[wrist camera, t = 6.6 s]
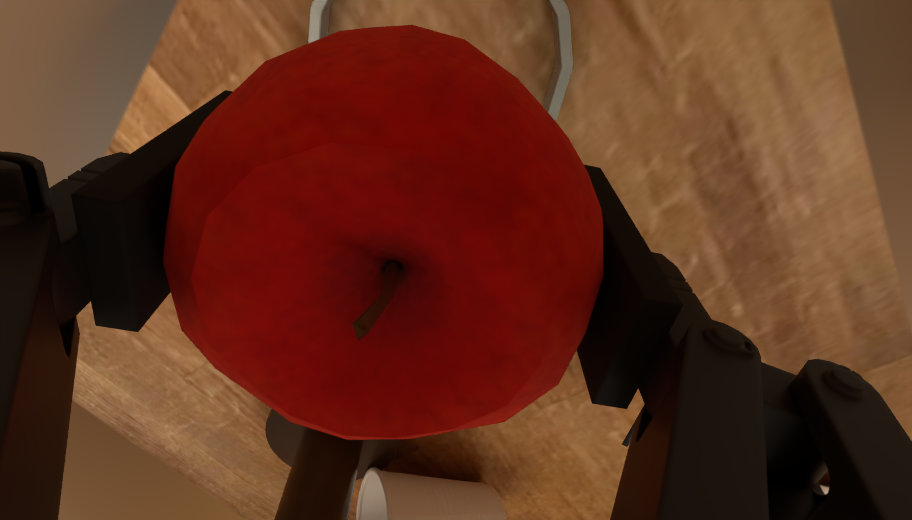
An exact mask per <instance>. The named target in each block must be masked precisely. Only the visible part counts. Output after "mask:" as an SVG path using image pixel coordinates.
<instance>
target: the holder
mask: <svg viewBox="0 0 912 520" xmlns="http://www.w3.org/2000/svg"><path fill="white" fill-rule="evenodd" d="M266 437H267V441H268V443H269V445H270V447H271V448H272V450H273V451H274V453H275V454H276V455H277V456H278V457H279V458H280V459H281V460H282V461H283V462H285V463H286V464H287V465H289V466H290V467H291V470H290V473H289V476H288V479H287V482H286V485H285V488H284V492H283V495H282V498H281V501H280V504H279V507H278V510H277V513H276V516H275V519H274V520H348V516H349V511H350V506H351V501H352V496H353V490H354V485H355V480H356V479H361V478H364V475H365V474H366V472H367V470H369V469H370V468H372V467H376V468H378V469H379V470H380V471H381V470H383V469H384V468H386V467H387V466H388V465H389V464H390V463H391V462H392V460H393V459H394V458H395V456H396V454H397V451H398V448H399V441H400V439H368V440H347V439H343V438H340V437H337V436H334V435H331V434H327V433H324V432H321V431H318V430H315V429H311V428H308V427H305V426H302V425H299V424H295V423H292V422H290V421H289V420H287V419H286V418H285V417H283V416H282V415H280V414H279V413H278V412H276V411H275V410H273V409H271V411H270V414H269V416H268V419H267V422H266Z"/></svg>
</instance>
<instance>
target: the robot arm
mask: <svg viewBox="0 0 912 520" xmlns="http://www.w3.org/2000/svg"><path fill="white" fill-rule="evenodd" d="M231 93H233V92H232V91H227V90H225V91H224V92H222V93H221V94H219V95H218V96H216V97H215V98H213V99H212V100H210V101H209V102H207V103H206V104H204V105H203V106H201V107H200V108H198V109H197V110H195V111H194V112H192V113H191V114H189V115H188V116H186V117H185V118H183V119H182V120H180V121H179V122H177V123H176V124H175V125H173V126H172V127H170V128H169V129H167V130H166V131H164V132H163V133H161V134H160V135H158V136H157V137H155V138H154V139H152V140H151V141H149V142H148V143H146V144H145V145H143V146H142V147H140V148H139V149H137V150H136V151H134V152H133V153H131V154H128V153H123V152H119V153H115V154H112V155H108V156H105V157H101V158H98V159H96V160H94V161H92V162H91V163H90V164H88V165H86V166H85V167H83V168H82V169H81V171H76V172H75V173H73V174H72V175H70V176H68V179H64V180H62V181H60V182H59V183H57V184H56V185H54V186H52V187H51V188H49V186H48V182H47V177H46V173H45V168H44V165H43V162H41V161H40V160H38V159H36V158H35V157H32V156H28V155H24V154H20V153H12V152H0V520H58V515H59V506H60V498H61V489H62V481H63V472H64V464H65V454H66V447H67V438H68V430H69V420H70V413H71V403H72V395H73V387H74V378H75V370H76V361H77V353H78V344H79V336H80V332H79V328H78V323H77V318H76V315H77V314H78V313H79V312H80V311H81V310H82V309H83V308H84V307H85V306H86V305H87V304H88V303H89V302H90V301H91V304H92V309H93V314H94V319H95V325H96V326H102V327H109V328H115V329H121V330H128V331H134V332H139V330H140V329H141V328H142V327H143V325H144V324H145V323H146V322H147V320H148V319H149V318H150V317H151V315H152V314H153V313H154V312H155V310H156V309H157V308H158V307H159V305H160V304H161V303H162V302H163V301H164V299H165V298H166V297H167V296H168V294H169V293H170V292H171V290H170V287H169V283H168V279H167V276H166V272H165V269H164V265H163V256H164V242H165V230H166V224H167V217H168V211H169V205H170V198H171V192H172V186H173V179H174V173H175V167H176V165H177V163H178V161H179V160H180V158H181V157H182V155H183V153H184V152H185V150H186V149H187V147H188V145H189V144H190V142H191V141H192V139H193V138H194V136H195V134H196V133H197V131H198V130H199V128H200V126H201V125H202V123H203V122H204V120H205V119H206V118H207V117H208V116H209V115H210V114H211V113H212V112H213V111H214V110H215V109H216V108H217V107H218V106H219V105H220V104H221V103H222V102H223V101H224V100H225V99H226V98H227V97H228V96H229V95H230V94H231ZM583 165H584V164H583ZM584 166H585V168H586V170H587V172H588V174H589V177H590V180H591V182H592V185H593V188H594V191H595V193H596V196H597V199H598V201H599V204H600V207H601V210H602V218H603V279H602V282H601V285H600V288H599V292H598V295H597V298H596V301H595V304H594V307H593V311H592V314H591V317H590V320H589V323H588V326H587V330H586V333H585V335H584V336H583V338H582V340H581V342H580V344H579V346H578V348H577V352H578V356H579V359H580V363H581V366H582V370H583V373H584V377H585V380H586V384H587V387H588V391H589V394H590V398H591V401H592V404H599V405H605V406H611V407H618V408H624V409H627V408H628V406H629V404H630V402H631V400H632V399H633V397H634V395H635V393H636V391H637V389H638V388H639V391H640V393H641V396H642V398H643V401H644V403H645V405H644V406H643V408H642V410H641V412H640V413H639V415H638V417H637V419H636V420H635V422H634V424H633V426H632V427H631V429H630V431H629V433H628V434H627V436H626V438H625V440H624V441H623V443H622V444H623V445H624V446H626V447H627V446H628V445H629V444H630V445H629V449H628V453H627V456H626V460H625V464H624V468H623V472H622V476H621V480H620V484H619V487H618V491H617V495H616V499H615V503H614V507H613V511H612V515H611V518H610V520H912V441H911V440H910V438H909V437H908V435H907V434H906V432H905V431H904V429H903V428H902V426H901V425H900V423H899V422H898V420H897V419H896V417H895V416H894V414H893V413H892V412H891V410H890V409H889V407H888V406H887V404H886V403H885V401H884V400H883V398H882V397H881V395H880V394H879V393H878V392H877V391H876V390H875V389H874V388H873V386H872V385H870V384H869V383H868V382H866V381H865V380H864V379H863V378H862V377H861V376H860V375H859V374H857V373H856V372H854V371H850V370H851V369H849V368H847V367H845V366H842V365H838V364H835V363H833V362H830V361H825V360H820V359H813V360H808V361H807V363H806V364H805V365H804V367H803V368H802V369H801V371H800V372H799V373H798V375H794V374H791V373H789V372H786V371H783V370H781V369H778V368H775V367H773V366H770V365H767V364H765V363H762V362H761V356H760V353H759V351H758V348H757V347H756V346H755V345H754V344H753V342H752V341H751V340H750V339H749V338H747V337H746V336H745V335H743V334H742V333H741V332H739V331H738V330H736V329H734V328H732V327H730V326H728V325H726V324H724V323H721V322H718V321H714V320H712V319H711V318H710V316H709V315H708V313H707V312H706V310H705V309H704V307H703V306H702V304H701V302H700V301H699V299H698V298H697V296H696V295H695V293H692V291H693V290H692V289H691V287H690V286H689V284H688V283H687V282H685V278H684V277H683V275H682V274H681V272H680V270H679V269H678V267H677V266H675V265H674V264H673V263H672V262H671V261H669V260H668V259H667V258H666V257H665V256H664V255H662V254H659V253H654V252H651V251H650V249H649V248H648V246H647V244H646V243H645V241H644V239H643V238H642V236H641V234H640V233H639V231H638V229H637V228H636V226H635V224H634V223H633V221H632V219H631V218H630V216H629V215H628V213H627V211H626V210H625V208H624V206H623V205H622V203H621V201H620V200H619V198H618V196H617V195H616V193H615V191H614V190H613V188H612V186H611V185H610V183H609V181H608V180H607V178H606V177H605V175H604V173H603V172H602V170H601V168H598V167H593V166H588V165H584ZM827 471H828V472H829V476H830V487H829V491H828V493H827V494H824V492H823V490H822V488H821V486H820V484H819V480H820V479H821V478H822V477H823V476H824V474H825V473H826V472H827Z"/></svg>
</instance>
